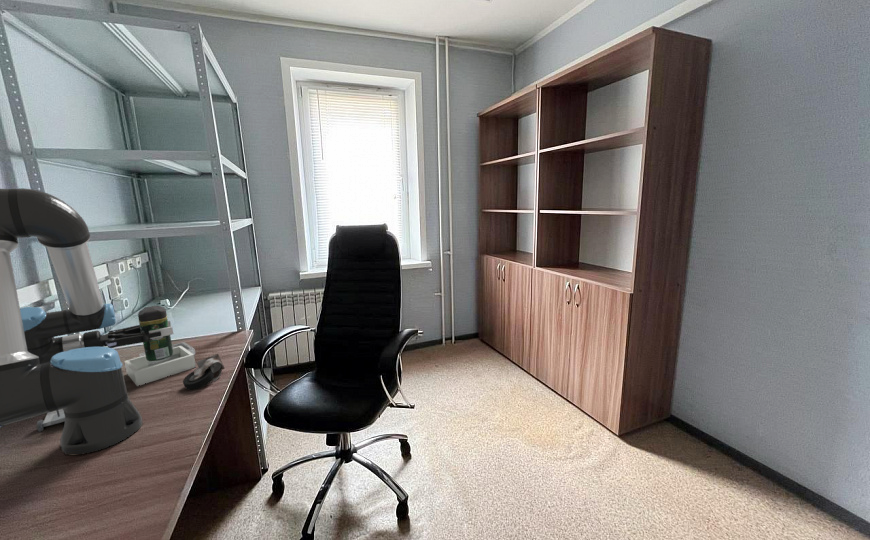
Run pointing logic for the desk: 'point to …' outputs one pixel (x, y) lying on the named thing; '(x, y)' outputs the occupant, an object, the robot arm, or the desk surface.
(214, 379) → the caster wheel
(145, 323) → the coffee jar
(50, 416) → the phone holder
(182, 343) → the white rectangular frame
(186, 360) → the tray
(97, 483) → the desk surface
